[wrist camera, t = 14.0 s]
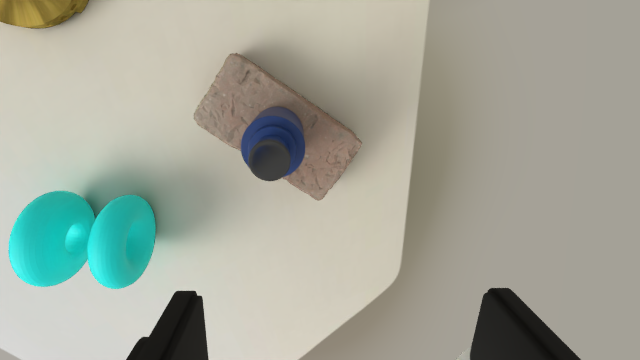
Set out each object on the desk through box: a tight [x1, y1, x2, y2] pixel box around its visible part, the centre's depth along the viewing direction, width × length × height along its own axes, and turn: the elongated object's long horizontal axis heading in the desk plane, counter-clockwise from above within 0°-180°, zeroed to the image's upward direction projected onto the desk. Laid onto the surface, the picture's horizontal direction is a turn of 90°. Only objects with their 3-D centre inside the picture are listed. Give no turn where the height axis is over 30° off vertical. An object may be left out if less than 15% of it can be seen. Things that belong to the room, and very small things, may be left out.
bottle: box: [241, 107, 305, 181], centre depth 27 cm, size 5×5×11 cm
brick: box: [194, 53, 362, 201], centre depth 34 cm, size 17×8×5 cm, turn 55°
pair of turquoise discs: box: [9, 191, 156, 289], centre depth 34 cm, size 10×10×10 cm
